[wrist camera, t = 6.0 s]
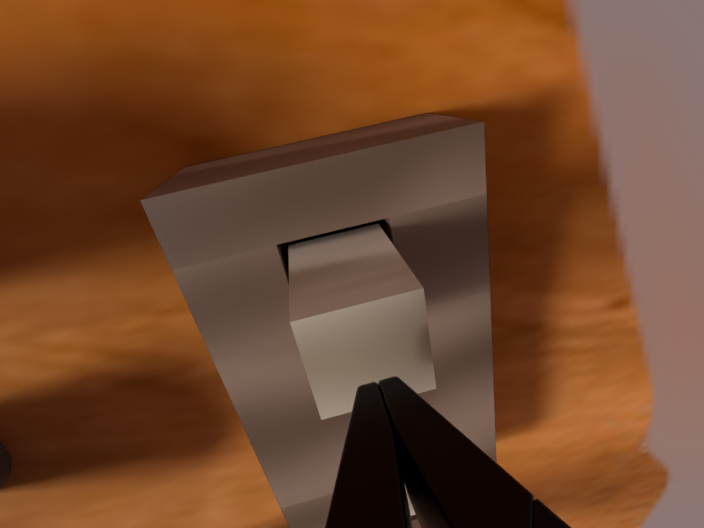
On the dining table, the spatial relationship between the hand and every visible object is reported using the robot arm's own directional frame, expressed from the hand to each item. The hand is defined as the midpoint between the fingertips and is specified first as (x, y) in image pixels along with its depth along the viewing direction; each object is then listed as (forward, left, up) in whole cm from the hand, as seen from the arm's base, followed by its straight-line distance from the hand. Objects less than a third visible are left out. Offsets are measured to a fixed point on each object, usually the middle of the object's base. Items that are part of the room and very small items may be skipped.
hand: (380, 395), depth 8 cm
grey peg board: (-6, 0, -10) cm, 12 cm away
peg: (0, 0, -6) cm, 6 cm away
